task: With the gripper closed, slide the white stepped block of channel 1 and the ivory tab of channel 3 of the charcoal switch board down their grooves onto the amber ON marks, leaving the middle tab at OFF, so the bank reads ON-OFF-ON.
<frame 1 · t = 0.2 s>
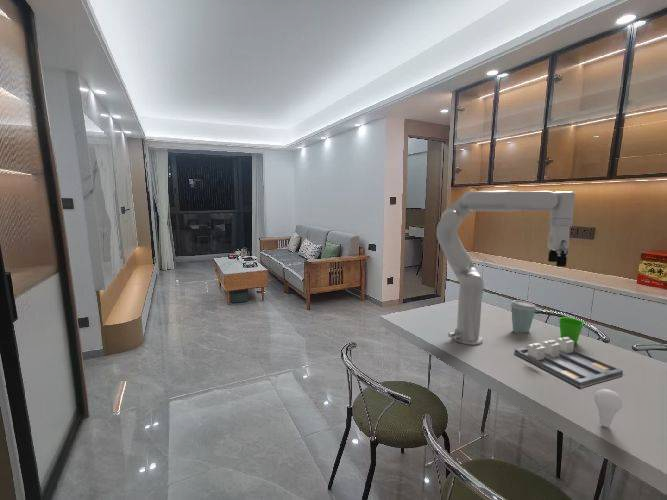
hand: (556, 263, 138), 37 cm above the table, tool pointing down, fingers open, 9 cm apart
disposable coffee cup: (520, 333, 159), on the table
tab 2: (551, 347, 133), point 5 cm above the table, slide at 0.0 cm
tab 3: (565, 344, 136), point 5 cm above the table, slide at 0.0 cm
white stepped block 1: (536, 350, 131), point 5 cm above the table, slide at 0.0 cm
lightbulb: (604, 426, 95), on the table
cup: (568, 345, 146), on the table
switch board: (564, 365, 129), on the table
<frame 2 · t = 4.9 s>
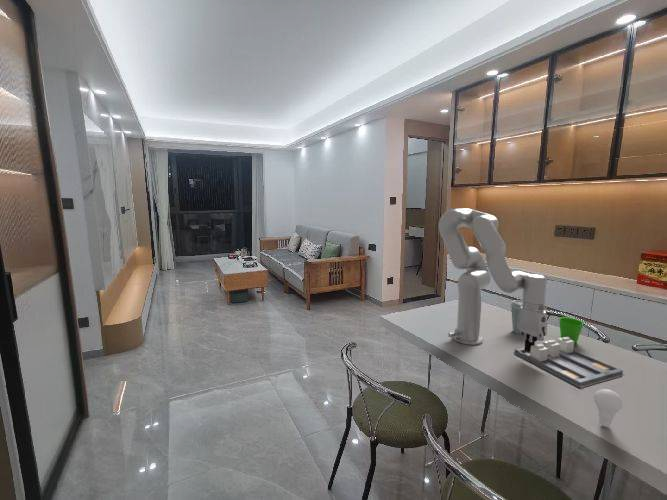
hand: (529, 350, 134), 3 cm above the table, tool pointing down, fingers closed
white stepped block 1: (538, 352, 130), point 5 cm above the table, slide at 1.1 cm, touching gripper
everything else where it was.
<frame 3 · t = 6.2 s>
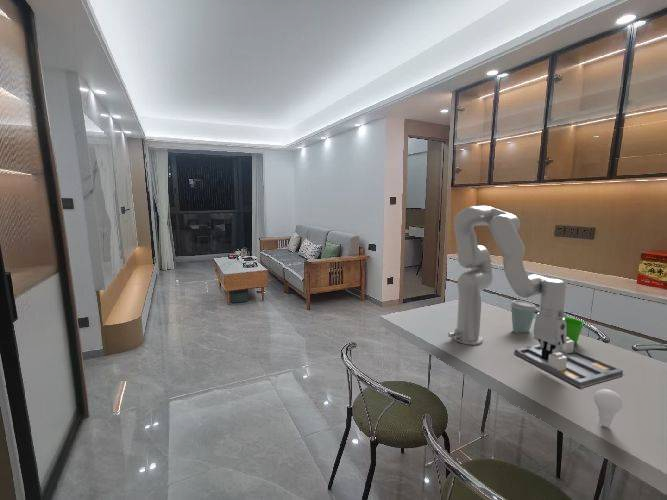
hand: (546, 358, 127), 3 cm above the table, tool pointing down, fingers closed
white stepped block 1: (557, 360, 123), point 5 cm above the table, slide at 8.6 cm, touching gripper
everything else where it was.
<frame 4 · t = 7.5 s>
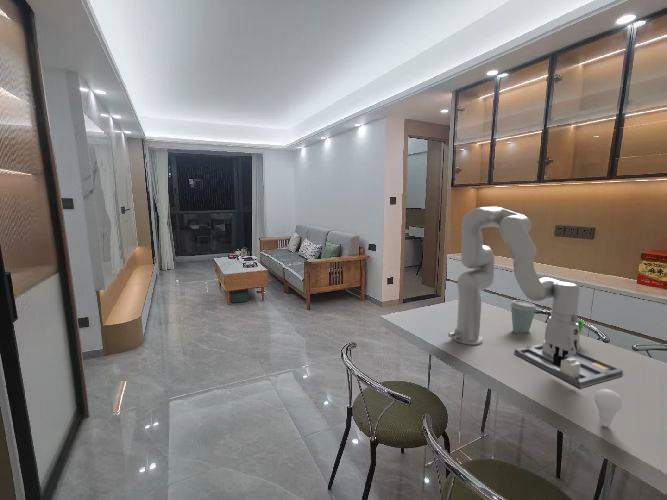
hand: (558, 364, 123), 3 cm above the table, tool pointing down, fingers closed
white stepped block 1: (570, 366, 118), point 5 cm above the table, slide at 13.3 cm, touching gripper
everything else where it was.
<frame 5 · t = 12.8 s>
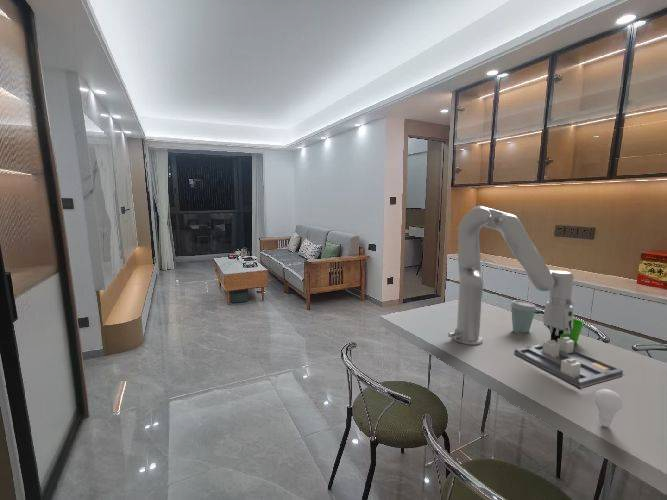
hand: (554, 342, 140), 3 cm above the table, tool pointing down, fingers closed
tab 3: (565, 344, 136), point 5 cm above the table, slide at 0.0 cm, touching gripper
white stepped block 1: (570, 367, 118), point 5 cm above the table, slide at 13.4 cm
everything else where it was.
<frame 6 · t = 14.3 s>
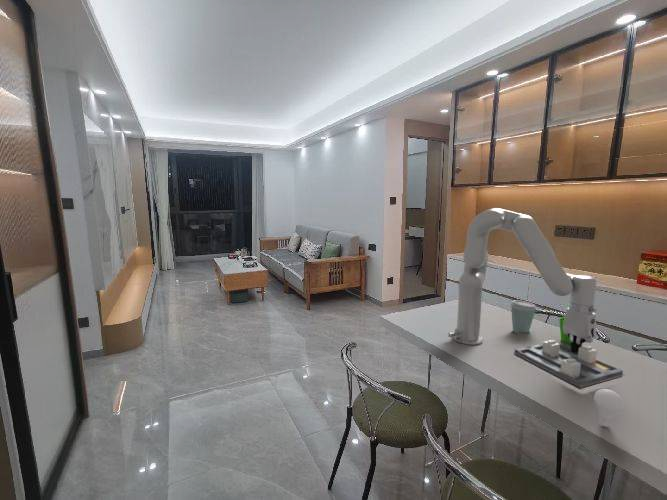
hand: (575, 351, 132), 3 cm above the table, tool pointing down, fingers closed
tab 3: (587, 353, 128), point 5 cm above the table, slide at 8.6 cm, touching gripper
everything else where it was.
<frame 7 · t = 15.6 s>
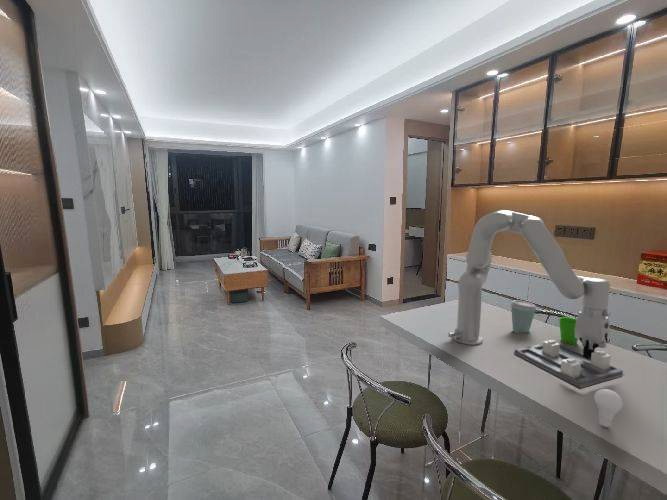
hand: (587, 357, 128), 3 cm above the table, tool pointing down, fingers closed
tab 3: (600, 359, 124), point 5 cm above the table, slide at 13.2 cm, touching gripper
everything else where it was.
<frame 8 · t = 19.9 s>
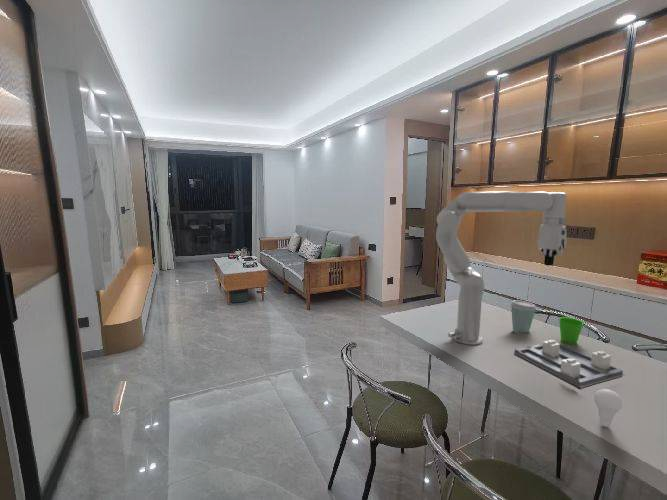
hand: (548, 265, 143), 35 cm above the table, tool pointing down, fingers closed
tab 3: (600, 359, 124), point 5 cm above the table, slide at 13.4 cm
everything else where it was.
at the end: white stepped block 1 slide at 13.4 cm; tab 3 slide at 13.4 cm; tab 2 slide at 0.0 cm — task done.
